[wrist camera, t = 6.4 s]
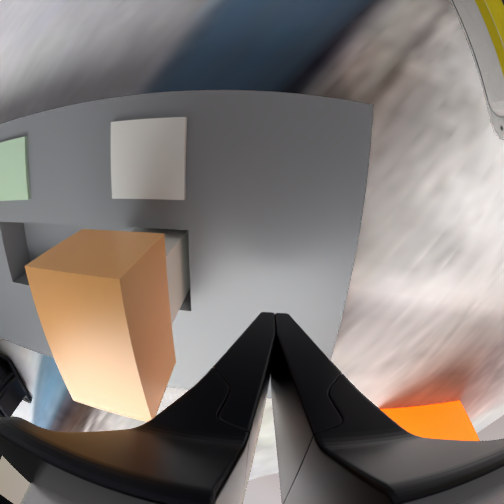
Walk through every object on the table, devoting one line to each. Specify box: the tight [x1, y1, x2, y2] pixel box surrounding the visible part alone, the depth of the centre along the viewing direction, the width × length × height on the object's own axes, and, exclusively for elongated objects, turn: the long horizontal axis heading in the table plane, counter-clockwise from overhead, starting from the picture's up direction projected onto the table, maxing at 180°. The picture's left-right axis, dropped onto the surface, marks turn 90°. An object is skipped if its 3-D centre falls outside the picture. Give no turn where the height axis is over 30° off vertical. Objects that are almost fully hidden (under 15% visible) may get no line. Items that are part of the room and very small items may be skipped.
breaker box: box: [0, 90, 373, 398], centre depth 13 cm, size 24×14×3 cm, turn 87°
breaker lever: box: [25, 227, 190, 422], centre depth 10 cm, size 3×5×7 cm, turn 177°
